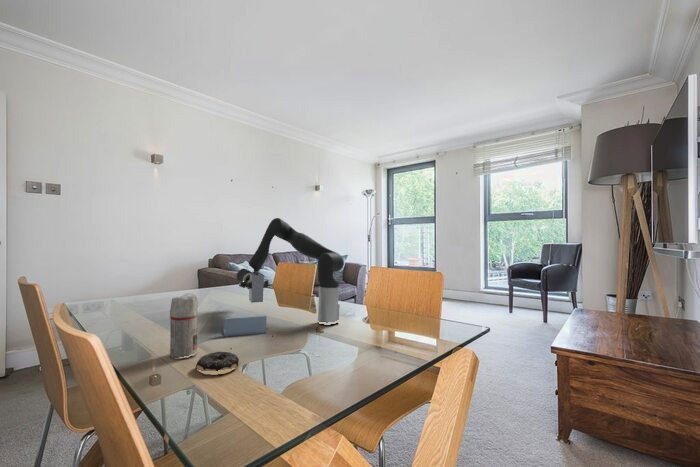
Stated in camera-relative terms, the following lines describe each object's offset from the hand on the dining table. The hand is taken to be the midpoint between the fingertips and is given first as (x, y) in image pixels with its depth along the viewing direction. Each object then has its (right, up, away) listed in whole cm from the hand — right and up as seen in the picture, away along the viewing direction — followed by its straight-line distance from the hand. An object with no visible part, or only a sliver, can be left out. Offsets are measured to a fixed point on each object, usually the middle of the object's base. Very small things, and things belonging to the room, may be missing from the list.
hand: (257, 286), depth 148 cm
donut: (+2, -17, -50) cm, 52 cm away
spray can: (-13, -17, -40) cm, 45 cm away
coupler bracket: (-3, -17, -10) cm, 20 cm away
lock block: (-1, -7, +2) cm, 7 cm away
